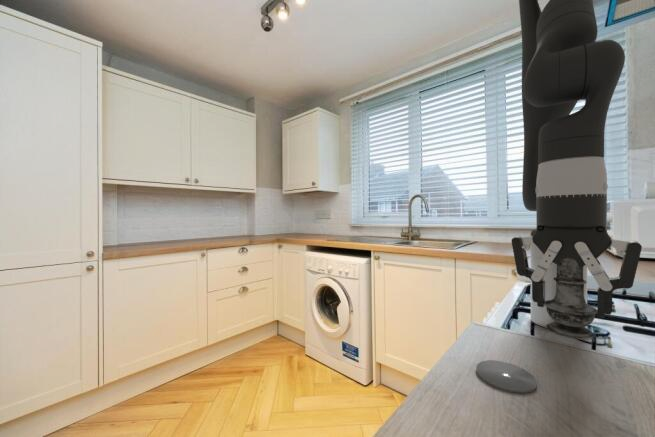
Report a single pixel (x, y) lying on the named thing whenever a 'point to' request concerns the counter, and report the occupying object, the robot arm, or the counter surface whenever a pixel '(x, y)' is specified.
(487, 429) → the counter surface
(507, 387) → the coaster
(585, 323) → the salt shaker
